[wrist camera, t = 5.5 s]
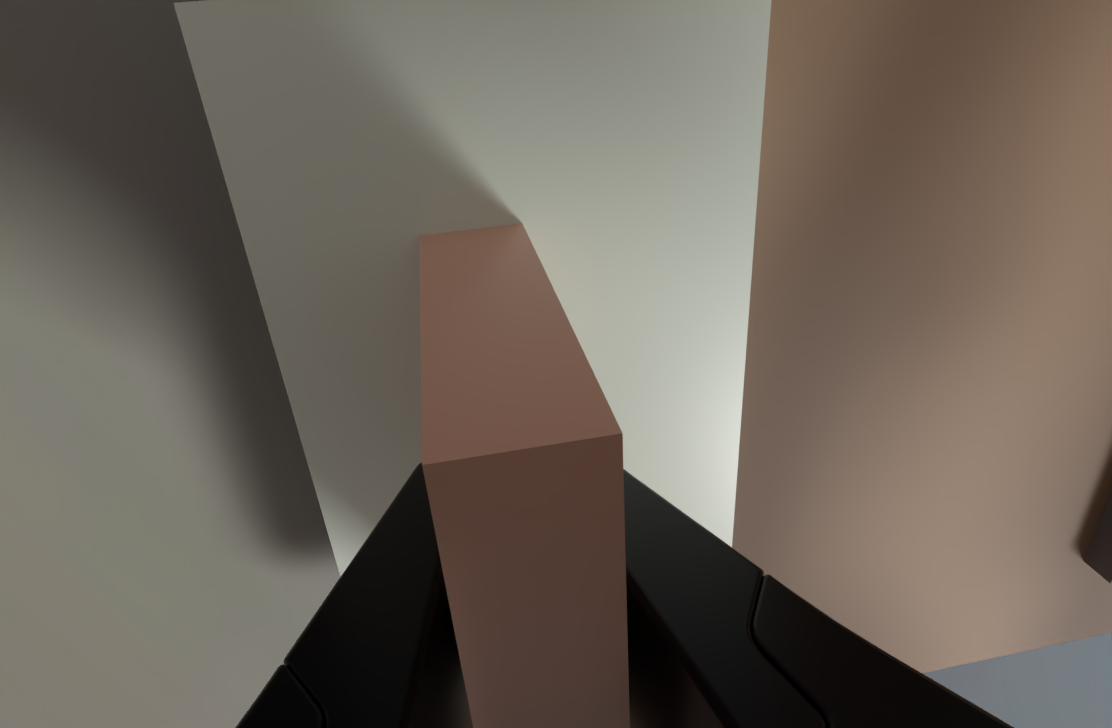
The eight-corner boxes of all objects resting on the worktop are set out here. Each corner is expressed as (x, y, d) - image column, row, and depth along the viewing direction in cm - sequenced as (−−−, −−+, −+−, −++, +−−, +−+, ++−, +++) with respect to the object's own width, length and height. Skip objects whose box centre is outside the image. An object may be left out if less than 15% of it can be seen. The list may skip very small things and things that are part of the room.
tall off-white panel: (749, -38, 8) (1193, -90, 3) (711, 637, 13) (863, 968, 9) (191, 2, 7) (-194, 6, 3) (387, 701, 12) (371, 1101, 8)
